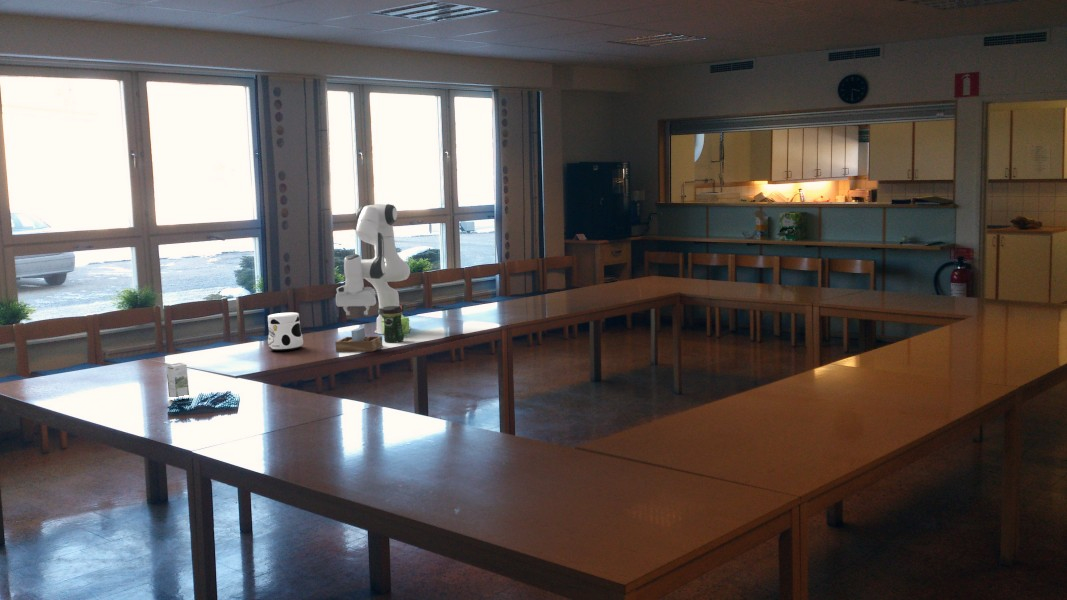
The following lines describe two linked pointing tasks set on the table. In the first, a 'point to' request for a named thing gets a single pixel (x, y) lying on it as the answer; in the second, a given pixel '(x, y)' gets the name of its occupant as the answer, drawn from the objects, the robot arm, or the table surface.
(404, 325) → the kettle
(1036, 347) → the table surface
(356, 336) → the light blue thin block
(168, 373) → the syrup box
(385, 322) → the coffee jar
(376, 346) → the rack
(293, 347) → the milk container
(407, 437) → the table surface
